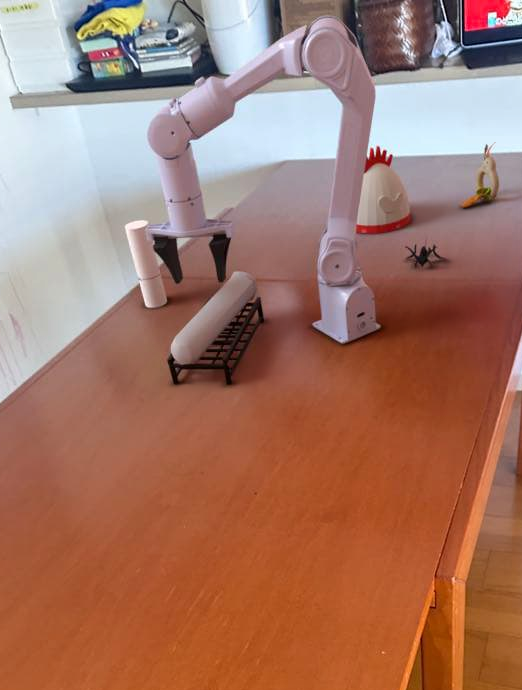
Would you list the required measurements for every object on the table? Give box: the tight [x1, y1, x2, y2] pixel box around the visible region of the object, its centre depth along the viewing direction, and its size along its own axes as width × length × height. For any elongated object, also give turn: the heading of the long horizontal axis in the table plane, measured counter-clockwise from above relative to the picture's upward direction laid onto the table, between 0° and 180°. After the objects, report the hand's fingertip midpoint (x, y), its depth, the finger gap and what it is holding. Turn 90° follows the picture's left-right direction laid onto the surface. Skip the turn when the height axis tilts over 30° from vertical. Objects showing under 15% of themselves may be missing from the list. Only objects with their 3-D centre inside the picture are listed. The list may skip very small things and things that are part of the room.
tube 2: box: [170, 270, 258, 365], centre depth 126 cm, size 5×5×25 cm
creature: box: [404, 235, 446, 268], centre depth 145 cm, size 8×5×8 cm
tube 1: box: [124, 219, 168, 309], centre depth 143 cm, size 4×4×15 cm
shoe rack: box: [166, 296, 265, 386], centre depth 128 cm, size 10×22×4 cm, turn 167°
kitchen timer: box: [356, 145, 411, 235], centre depth 161 cm, size 14×14×15 cm
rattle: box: [461, 143, 500, 209], centre depth 163 cm, size 8×8×12 cm
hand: (200, 280), depth 127 cm, fingers open, 7 cm apart
